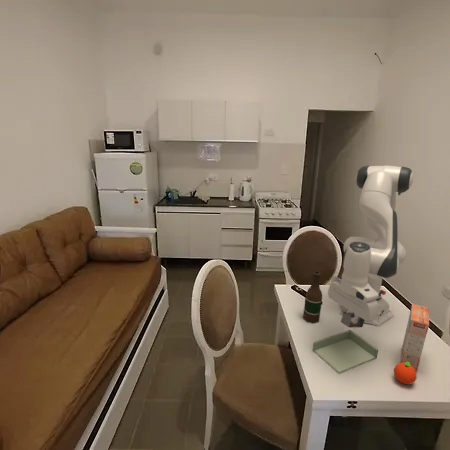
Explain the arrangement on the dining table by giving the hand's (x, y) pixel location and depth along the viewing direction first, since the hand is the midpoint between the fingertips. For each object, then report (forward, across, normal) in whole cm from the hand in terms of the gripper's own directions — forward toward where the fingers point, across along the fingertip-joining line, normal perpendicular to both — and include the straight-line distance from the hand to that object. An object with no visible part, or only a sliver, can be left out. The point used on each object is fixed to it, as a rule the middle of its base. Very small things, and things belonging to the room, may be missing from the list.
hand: (348, 318), depth 119 cm
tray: (+16, 0, +1) cm, 17 cm away
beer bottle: (+17, -25, +6) cm, 31 cm away
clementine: (+17, +19, +10) cm, 27 cm away
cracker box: (+17, +13, +22) cm, 31 cm away
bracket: (+3, 0, +2) cm, 4 cm away
